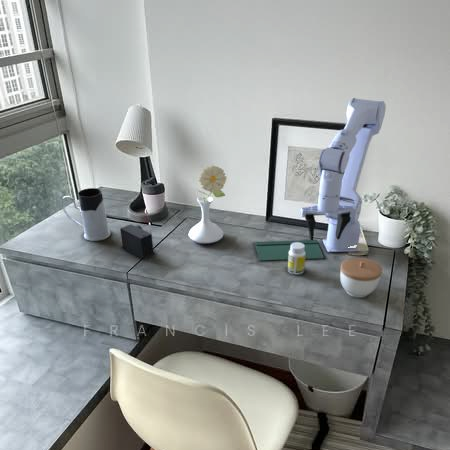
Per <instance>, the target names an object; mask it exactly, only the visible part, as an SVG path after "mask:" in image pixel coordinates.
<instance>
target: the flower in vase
mask: <svg viewBox="0 0 450 450" xmlns="http://www.w3.org/2000/svg"><path fill="white" fill-rule="evenodd" d="M224 171H225V170H224V169H223V168H222V167H219V166H216V165H211V166H207V167H206V168H204V169H202V171H201V173H200V177H199V178H198V179H199V180H198V182H199V183H200V186H201V188H202V190H204V191H206V192H209V194H207V193H205V192H204V191H201V190H199V189H197V192H199V193H201V194H203V195H205V196H203V195H202V196H199V197H197V198H196V201H197V202H198V204H199V206H200V209H201V220H200V221H199V222H198V223H197V224H195V225H194V226H193V227H192V228H191V229H189V232H188V237H189V238H190V240H192V241H193V242H195V243H199V244H212V243H216V242H218V241H220V240H221V239H222V238H223V237H224V231H223V229H222V228H221V227H220V226H218V225H217V224H216V223H214V222H212V221H211V219H210V207H211V204H212V203H213V201H214V199H213V197H211V194H213V196H214V197H215V198H222V197H225V196H226V194H225V193H224V192H223V190H222V189H224V187H225V184H226V181H227V178H228V177H227V176H226V173H225V172H224Z"/></svg>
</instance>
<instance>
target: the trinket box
mask: <svg viewBox="0 0 450 450" xmlns="http://www.w3.org/2000/svg"><path fill="white" fill-rule="evenodd" d="M340 264H341V265H340V273H339V278H340V279H339V280H340V284H341V286H342V288H343V289H344V291H345V292H346V293H347V294H348V296H351V297H353V298H366V297H367V296H368V295H370V294H372V293H373V292H374V291H375V290H376V289H377V287H378V285H379V283H380V281H381V277H382V274H383V267H382V266H381V264H379V263H378V262H377V261H375V260H373V259H370V258H366V257H357V256H356V257H349V258H346V259H345V260H344V259H343V261H342V262H341V263H340Z"/></svg>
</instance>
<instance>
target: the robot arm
mask: <svg viewBox="0 0 450 450" xmlns="http://www.w3.org/2000/svg"><path fill="white" fill-rule="evenodd" d="M386 105H387V104H386V103H385V100H381V101H380V100H370V99H369V100H368V99H363V98H356V97H352V98H351V99H350V100H349V102H348V104H347V108H346V120H347V122H346V123H345V126H344V128H343V129H340V130H338V131H337V133H336V134H335V135H334V138H333V139H332V140H331V143H330V144H329V146H328V147H326V148H323V149H322V150H321V152H320V154H319V158H318V159H319V160H318V169H319V172H318V176H319V177H320V181H319V189H318V199H317V205H311V206H306V207H301V208H300V216H301V217H302V218H305V221H306V226H307V228H308V238H309V240H314V236H315V227H316V223H317V221H316V218H315V216H325V218H327V222H328V226H327V227H328V228H327V234H326V235H327V236H326V238H324V239H322V242H323V245H324V246H325V247H324V248H325V249H326V251H327V252H328V253H346V252H347V253H349V252H358V251H359V250H358V247H357V248H348V247H350V246H354V245H358V246H359V241H360V234H361V224H360V221H359V218H360V215H361V211H362V205H363V198H362V197H361V195H360V194H359V193H358V192H357V188H358V185H359V180H360V178H361V174H362V170H363V167H364V164H365V161H366V157H367V155H368V154H367V153H368V150H369V147H370V143H371V141H372V139H373V136H375V135H378V134H380V131H381V129H382V125H383V122H384V118H385V115H386V109H387V108H386V107H387V106H386Z"/></svg>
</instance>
